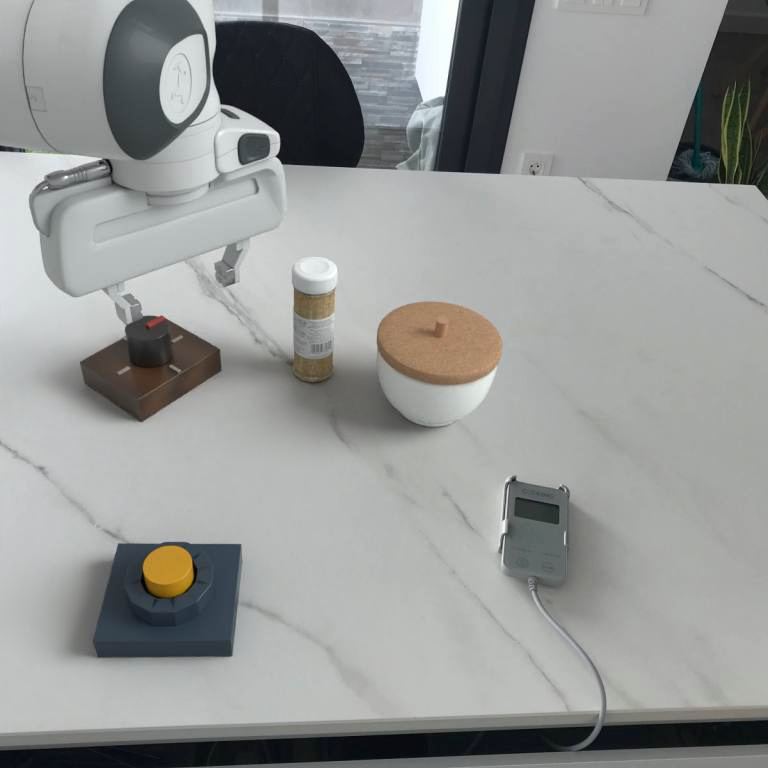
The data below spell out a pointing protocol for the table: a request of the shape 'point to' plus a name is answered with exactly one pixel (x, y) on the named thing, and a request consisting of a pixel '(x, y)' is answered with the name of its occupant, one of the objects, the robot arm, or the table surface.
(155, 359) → the dial
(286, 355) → the table surface
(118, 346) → the dial panel
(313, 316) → the sprinkles bottle
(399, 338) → the decorative box
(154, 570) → the trigger button
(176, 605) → the button housing
